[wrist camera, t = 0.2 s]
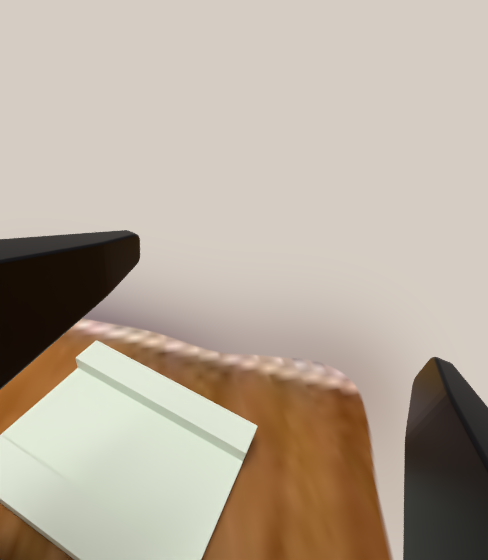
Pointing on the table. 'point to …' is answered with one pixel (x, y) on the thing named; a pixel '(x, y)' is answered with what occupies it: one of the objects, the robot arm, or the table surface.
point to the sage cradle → (122, 462)
